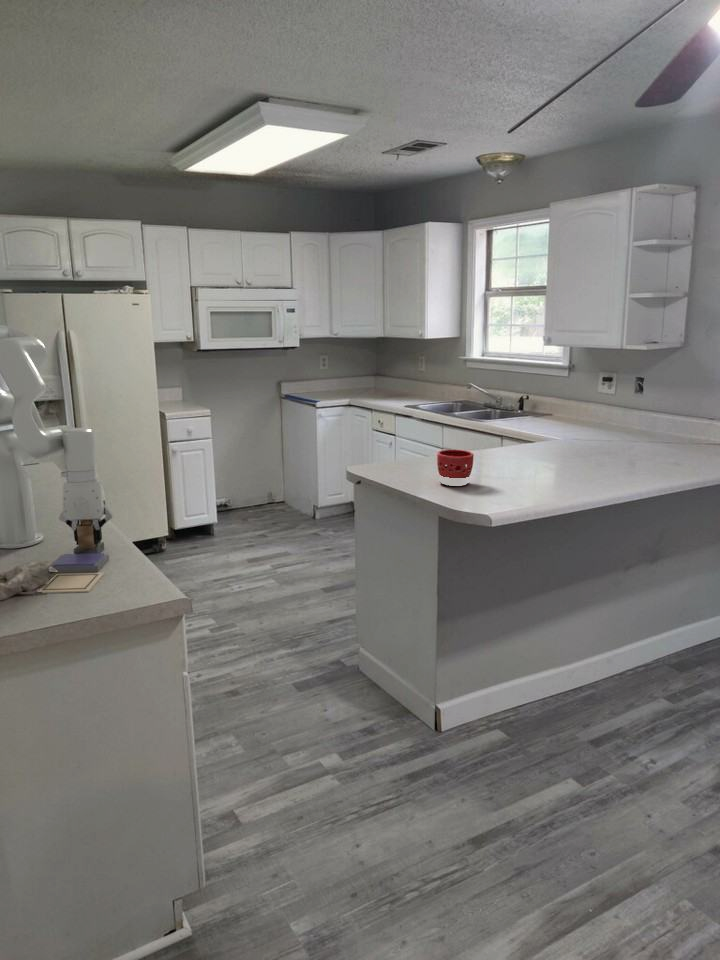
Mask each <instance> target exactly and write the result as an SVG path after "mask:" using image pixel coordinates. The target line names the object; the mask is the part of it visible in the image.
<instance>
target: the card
mask: <svg viewBox="0 0 720 960" xmlns="http://www.w3.org/2000/svg"><path fill="white" fill-rule="evenodd" d="M55 574H56V575H55V576H54V577H53V578H51V577H50V578H51V579H50V578H49V579H50V581H49V583H48V584H47V585H46V586H45V587H44V588H43V589H42V591H39V592H42V593H41V594H49V593H50V594H56V593H60V594H61V593H90V591H91V590H92V589H93V588H94V587H95V586H96V584H97V583H98V582H99V581H100V580H101V579H102V577H103V576H104V575H105V572H74V573H55Z"/></svg>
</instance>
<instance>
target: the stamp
mask: <svg viewBox="0 0 720 960" xmlns="http://www.w3.org/2000/svg"><path fill="white" fill-rule="evenodd" d="M94 530H95V528H94V523H93V520H80V524H79V525H78V526H77V534H78V544H79V545H76V547H74V549H73V554H96V553H103V551H104V550H105V542H104V541H100V543H98V544H97V545H95V543H94V532H93V531H94Z"/></svg>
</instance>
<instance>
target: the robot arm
mask: <svg viewBox="0 0 720 960" xmlns="http://www.w3.org/2000/svg"><path fill="white" fill-rule="evenodd" d="M47 361H48V351H47V348H46V346H45V345H44V342H42V341H41V340H40V339H38V338H37V337H35V336H33V335H31V334H28V333H25V332H23V331H21V330H19V329H15V328H13V327H11V326H8V325H2V324H1V325H0V376H1V377H2V379H3V381H4V382H5V385H6V386H7V388H8V390H3V389H2V387H1V386H0V427H7V426H12V428H9V429H4V430H0V549H7V550H9V549H19V548H26V547H30V546H34V545H37V544H39V543H41V542H42V541H43V540H44V535H43V533H40V532H37V524H36V514H35V506H34V498H33V497H34V496H33V489H32V480H31V477H30V475H29V472H28V471H27V469H26V468H25V467H24V465H23V463H26V462H29V461H35V460H37V459H38V460H42V459H47V458H52V457H56V456H62V455H64V463H65V471H61V473H60V476H61V478H65V481H64V482H63V485H62V486H63V488H62V510H61V513H60V515H59V517H58V520H59V521H61V522H63V523H65V524H66V525H67V526H68V527H70V528H71V530H72V531H73V535H74V536H73V537H74V538H73V539H74V542H76V546H78V545H79V544H78V534H77V526H78V525H79V524H80V520H93V523H94V528H95V530H94V531H93V532H94V543H95V545H97V544H98V543H100V542H102V540H103V536H102V535H103V534H102V533H103V532H102V527H103V526H104V525H105V524H106V523H107V522H109V521H111V520H112V519H113V518H114V514H113V513H112V511H111V510H110V509H109V507H108V506H107V502H106V496H105V495H106V494H105V491H104V487H103V484H102V480H101V479H99V476H98V463H97V455H96V445H95V435H94V432H93V430H92V429H90V428H88V427H73V426H71V425H67V424H66V425H65V424H64V425H56V426H49V427H45V426H44V423H43V421H42V418H41V415H40V413H39V410H38V409H37V407H36V404H35V401H37V400H38V399H40V398H42V396H44V394H45V393H46V391H47V385H46V383H45V381H44V380H43V377H42V376H41V374H40V372H39V370H38V368H39V369H40V368H42V367H43V366H45V365H46V363H47Z"/></svg>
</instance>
